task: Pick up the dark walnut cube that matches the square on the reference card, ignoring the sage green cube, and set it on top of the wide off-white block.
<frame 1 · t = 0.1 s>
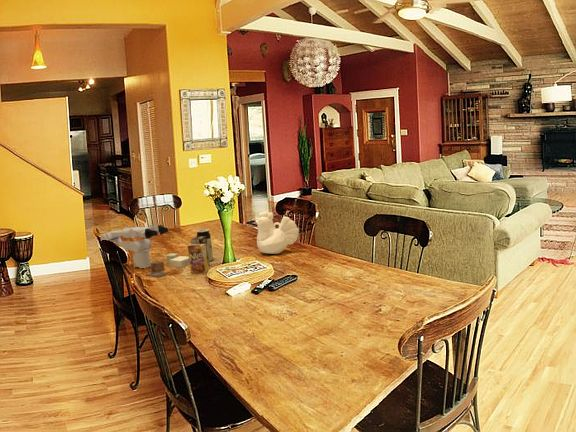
hand: (162, 231, 298), 22 cm above the table, tool horizontal, fingers open, 7 cm apart
reference card: (157, 274, 292), on the table
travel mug: (206, 260, 314), on the table
candy box: (199, 272, 290), on the table
sage block: (173, 262, 316), on the table
coffee box: (201, 266, 303), on the table
decorative rooster: (278, 253, 316), on the table
base block: (181, 265, 309), on the table
walnut block: (158, 271, 301), on the table
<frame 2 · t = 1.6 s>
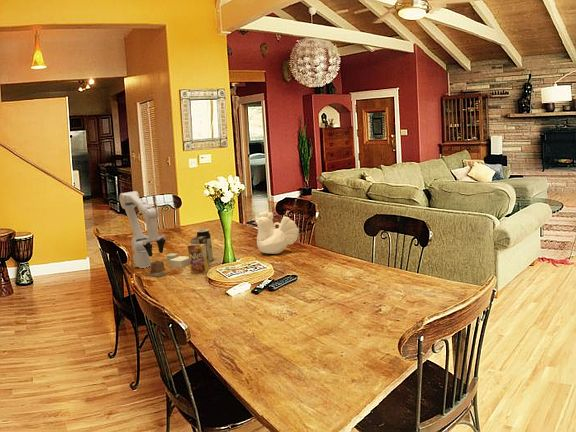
hand: (155, 254, 299), 9 cm above the table, tool pointing down, fingers open, 7 cm apart
nothing on the table moved.
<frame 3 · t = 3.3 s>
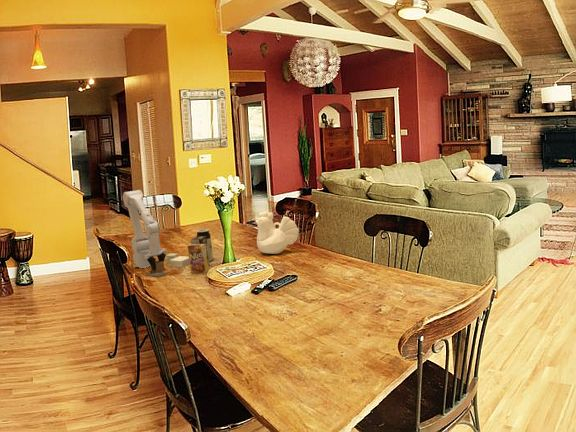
hand: (157, 268, 300), 1 cm above the table, tool pointing down, fingers closed on walnut block, 5 cm apart
walnut block: (158, 270, 301), on the table, touching gripper
everything else where it was.
when the fingers open (7 cm above the table, at t = 6.9 s): walnut block drops 2 cm, resting on base block.
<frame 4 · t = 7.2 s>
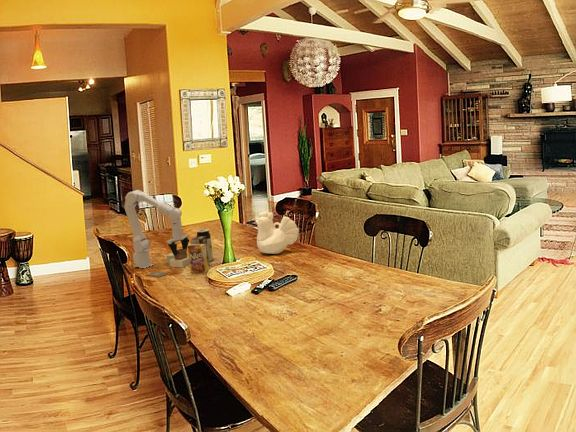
hand: (180, 253, 308), 7 cm above the table, tool pointing down, fingers open, 7 cm apart
base block: (181, 265, 309), on the table, touching walnut block
walnut block: (181, 258, 309), point 4 cm above the table, touching base block
everything else where it was.
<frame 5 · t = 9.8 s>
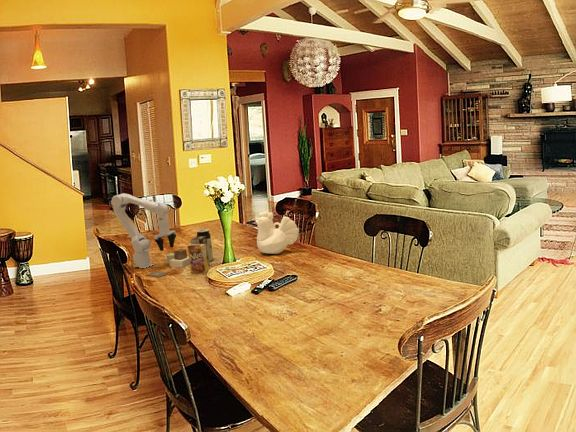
hand: (166, 248, 308), 10 cm above the table, tool pointing down, fingers open, 7 cm apart
nothing on the table moved.
at the end: walnut block 0.3 cm off-centre on the base block, point 4.0 cm above the base block's base; walnut block tilted 0°; the gripper is holding nothing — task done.
